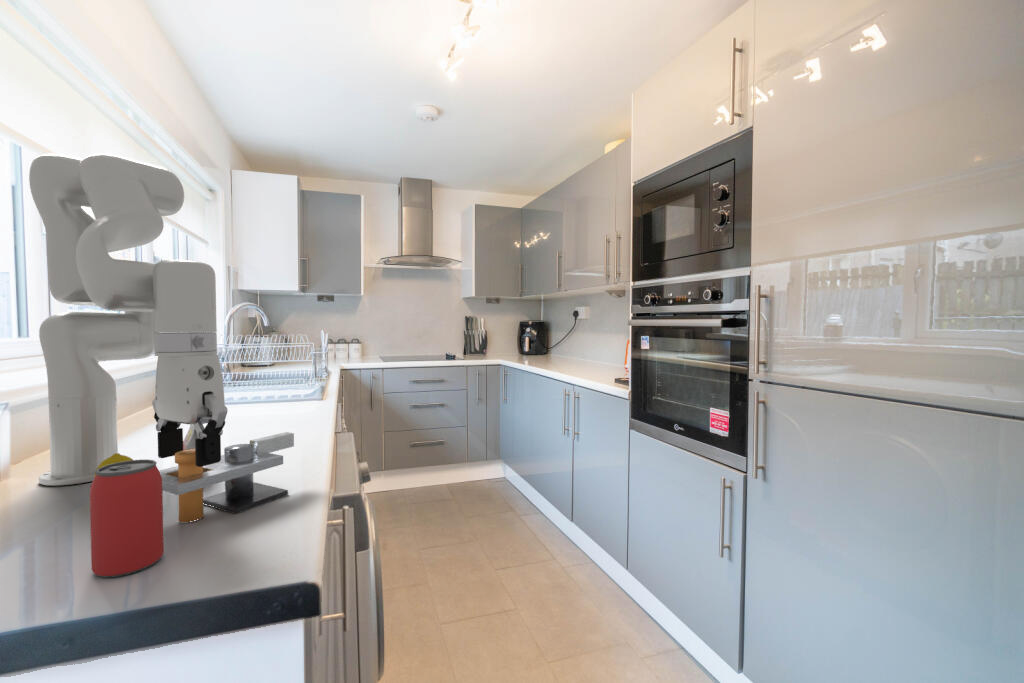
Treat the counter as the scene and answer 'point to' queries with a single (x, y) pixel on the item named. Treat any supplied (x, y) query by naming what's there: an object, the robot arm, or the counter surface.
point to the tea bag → (190, 439)
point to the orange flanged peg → (194, 499)
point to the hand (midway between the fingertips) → (189, 459)
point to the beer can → (126, 518)
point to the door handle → (235, 474)
